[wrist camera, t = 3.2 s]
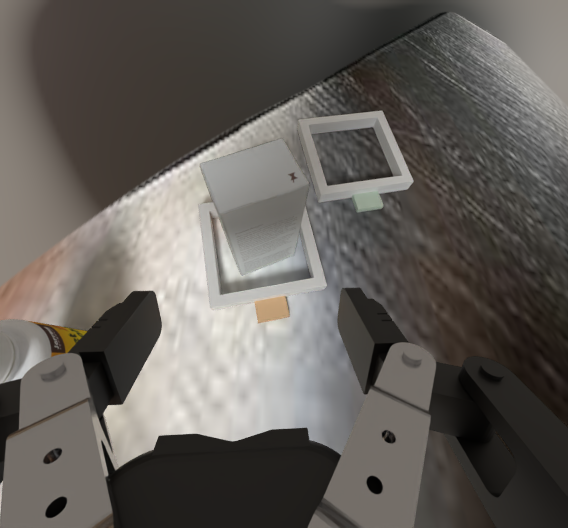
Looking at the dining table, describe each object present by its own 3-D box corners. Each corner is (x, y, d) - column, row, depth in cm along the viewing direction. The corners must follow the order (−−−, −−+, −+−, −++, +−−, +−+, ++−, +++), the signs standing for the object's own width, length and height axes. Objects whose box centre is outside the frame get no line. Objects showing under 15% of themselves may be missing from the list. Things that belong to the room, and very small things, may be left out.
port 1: (299, 197, 30) (301, 189, 29) (328, 309, 26) (332, 306, 24) (201, 211, 29) (198, 204, 27) (215, 331, 24) (212, 330, 23)
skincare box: (278, 222, 29) (285, 134, 18) (294, 256, 28) (313, 184, 16) (225, 242, 28) (196, 161, 16) (240, 277, 26) (219, 216, 15)
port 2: (377, 120, 35) (382, 110, 33) (413, 203, 31) (420, 196, 29) (297, 129, 34) (298, 119, 32) (322, 217, 29) (325, 210, 28)
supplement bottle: (130, 351, 23) (35, 345, 14) (84, 413, 22) (-63, 456, 12) (81, 320, 24) (-41, 293, 15) (33, 377, 22) (-144, 390, 13)
